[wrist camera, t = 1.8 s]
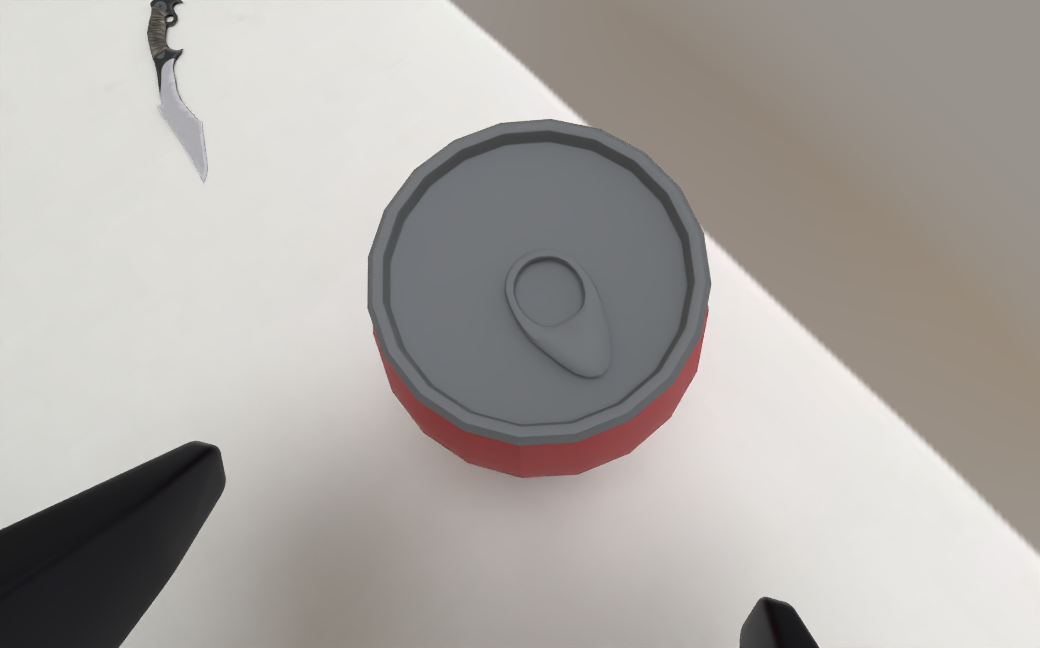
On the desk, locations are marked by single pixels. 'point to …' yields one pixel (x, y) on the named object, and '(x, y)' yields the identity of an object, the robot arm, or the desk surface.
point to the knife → (174, 87)
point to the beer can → (539, 297)
